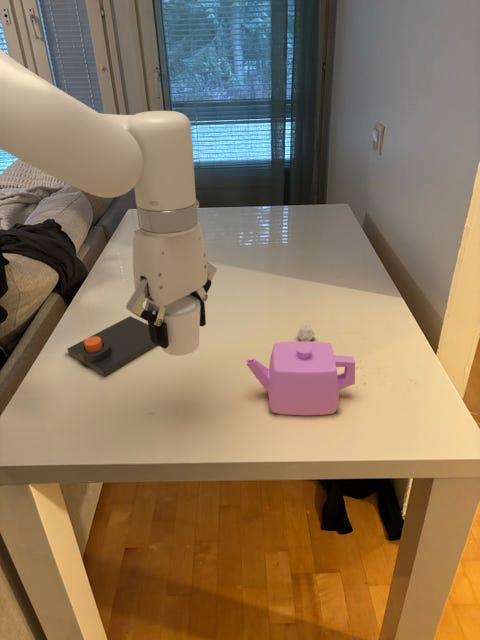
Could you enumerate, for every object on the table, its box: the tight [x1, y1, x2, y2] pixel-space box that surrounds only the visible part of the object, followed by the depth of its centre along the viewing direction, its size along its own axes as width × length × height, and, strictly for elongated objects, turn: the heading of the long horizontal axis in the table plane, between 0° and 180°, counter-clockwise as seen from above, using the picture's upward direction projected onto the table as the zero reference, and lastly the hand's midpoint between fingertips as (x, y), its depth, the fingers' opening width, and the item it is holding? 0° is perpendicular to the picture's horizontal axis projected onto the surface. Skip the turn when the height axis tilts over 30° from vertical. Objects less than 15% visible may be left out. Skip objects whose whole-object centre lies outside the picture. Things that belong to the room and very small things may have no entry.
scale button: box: [84, 335, 103, 352], centre depth 90 cm, size 3×3×2 cm
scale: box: [67, 315, 158, 377], centre depth 95 cm, size 17×12×3 cm
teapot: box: [246, 340, 356, 416], centre depth 78 cm, size 18×10×10 cm, turn 87°
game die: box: [296, 324, 315, 342], centre depth 95 cm, size 4×4×3 cm
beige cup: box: [153, 294, 201, 357], centre depth 68 cm, size 7×7×7 cm
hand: (179, 332), depth 69 cm, fingers closed on beige cup, 6 cm apart
